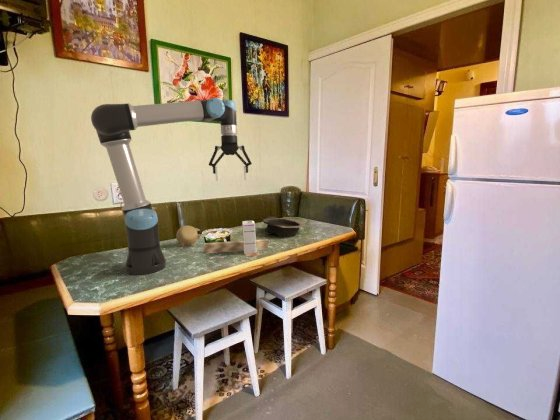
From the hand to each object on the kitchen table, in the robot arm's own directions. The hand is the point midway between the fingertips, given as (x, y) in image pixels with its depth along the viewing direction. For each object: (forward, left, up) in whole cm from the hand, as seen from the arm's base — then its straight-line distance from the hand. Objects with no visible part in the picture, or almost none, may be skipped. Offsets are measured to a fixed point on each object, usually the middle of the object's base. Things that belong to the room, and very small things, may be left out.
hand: (231, 180), depth 147 cm
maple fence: (+1, -13, -33) cm, 35 cm away
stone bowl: (+29, +17, -33) cm, 47 cm away
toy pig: (-22, +4, -33) cm, 40 cm away
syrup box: (+7, -13, -33) cm, 36 cm away
